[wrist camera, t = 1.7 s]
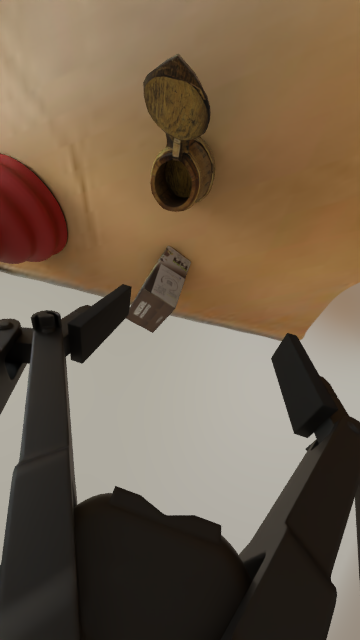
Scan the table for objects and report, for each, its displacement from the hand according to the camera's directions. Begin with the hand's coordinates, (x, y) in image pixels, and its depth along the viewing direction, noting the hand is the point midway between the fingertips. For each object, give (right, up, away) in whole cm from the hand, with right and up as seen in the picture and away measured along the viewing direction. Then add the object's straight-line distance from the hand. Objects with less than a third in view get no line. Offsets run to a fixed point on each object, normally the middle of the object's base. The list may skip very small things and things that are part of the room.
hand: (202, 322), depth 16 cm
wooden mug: (0, +26, +15) cm, 30 cm away
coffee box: (-4, +13, +29) cm, 32 cm away
